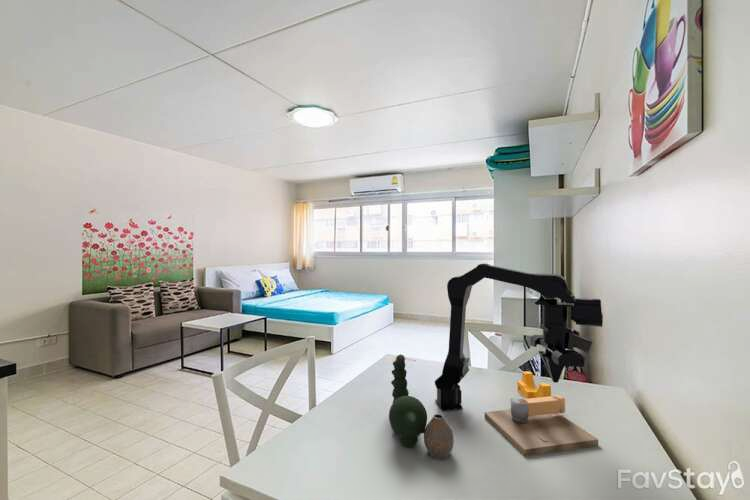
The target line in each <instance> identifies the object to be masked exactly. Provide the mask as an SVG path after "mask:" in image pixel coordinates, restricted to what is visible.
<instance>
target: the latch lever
mask: <svg viewBox="0 0 750 500" xmlns="http://www.w3.org/2000/svg"><path fill="white" fill-rule="evenodd" d="M510 409H511V415H512V416H514V417H516V418H520V419H526V418H528V417H529V416H536V415H545V414H554V413H559V414H564V413H565V412H566V398H565V397H564V396H561V395H551V396H549V397H539V398H529V399H527V398H519V397H514V398H511V399H510Z"/></svg>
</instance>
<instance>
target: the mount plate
mask: <svg viewBox="0 0 750 500" xmlns="http://www.w3.org/2000/svg"><path fill="white" fill-rule="evenodd" d="M484 418H485V420H487V422H488V423H489V424H491V425H492V426H493V427H494V428H495V429H496V430H497V431H498V432H499V433H500V434H501V435H502V436H503V437H504V438H505V439H506V441H507V440H508V442H509V443H511V445H513V447H515V448H516V449H517V450H518V451H519V452H520V454H522V455H523V456H524V457H526V456H534V455H541V454H547V453H548V454H549V453H554V452H555V453H556V452H561V451H562V452H563V451H570V450H576V449H577V450H578V449H583V448H592V447H596V446H599V438H597V437H596V436H594V435H592V434H591V433H589V432H588V431H586V430H585V429H583V428H582V427H581V426H579V425H577V424H576V423H574V422H573V421H571V420H569V419H568V418H566V417H565V416H563V415H562V413H554V414H545V415H536V416H529V417H528V418H526V419H520V418H516V417H514V416H512V415H511V408H510V409H502V410H501V409H500V410H492V411H485V412H484Z"/></svg>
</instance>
